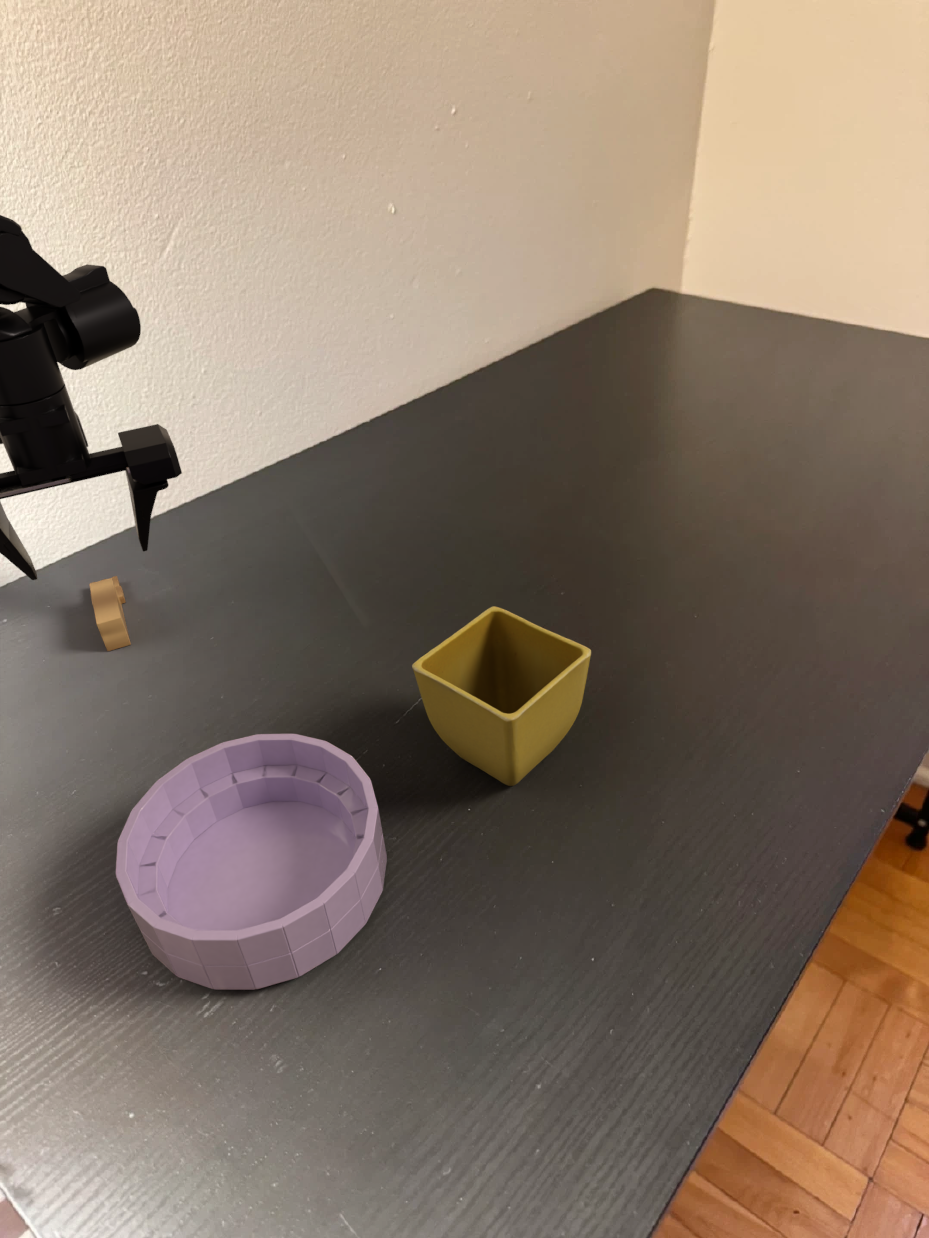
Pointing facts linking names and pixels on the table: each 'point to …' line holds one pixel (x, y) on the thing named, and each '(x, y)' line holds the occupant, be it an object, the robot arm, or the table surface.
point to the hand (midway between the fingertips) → (90, 563)
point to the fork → (110, 612)
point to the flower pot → (503, 692)
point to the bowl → (253, 860)
